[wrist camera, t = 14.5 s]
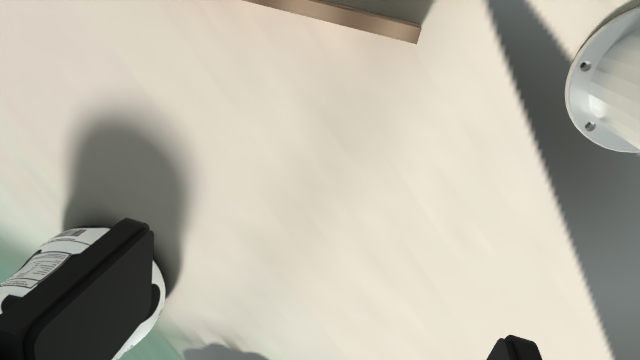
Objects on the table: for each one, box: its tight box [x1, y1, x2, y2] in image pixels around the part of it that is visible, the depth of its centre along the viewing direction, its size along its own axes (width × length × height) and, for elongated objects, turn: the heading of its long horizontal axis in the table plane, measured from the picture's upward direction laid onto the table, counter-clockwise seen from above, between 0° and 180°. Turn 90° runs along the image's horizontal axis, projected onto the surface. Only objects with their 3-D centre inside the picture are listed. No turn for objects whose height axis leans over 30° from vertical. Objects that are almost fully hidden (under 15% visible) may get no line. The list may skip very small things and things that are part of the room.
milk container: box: [0, 225, 166, 360], centre depth 49 cm, size 17×17×18 cm
